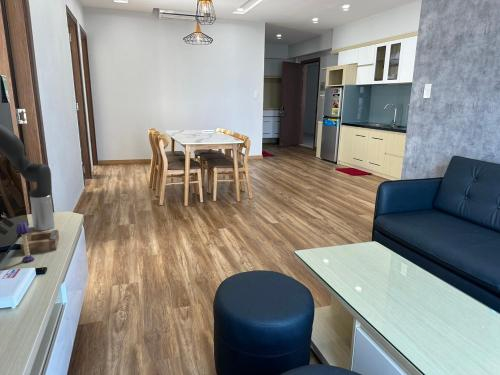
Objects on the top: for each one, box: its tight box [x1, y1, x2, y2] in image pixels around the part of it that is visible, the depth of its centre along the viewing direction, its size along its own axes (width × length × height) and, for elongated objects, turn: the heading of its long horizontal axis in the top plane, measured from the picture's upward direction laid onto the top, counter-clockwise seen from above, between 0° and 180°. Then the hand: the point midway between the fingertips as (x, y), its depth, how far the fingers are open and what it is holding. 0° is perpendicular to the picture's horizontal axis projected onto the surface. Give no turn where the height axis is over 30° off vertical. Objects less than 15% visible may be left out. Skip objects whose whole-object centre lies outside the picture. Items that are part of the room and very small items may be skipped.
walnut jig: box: [20, 229, 60, 255], centre depth 158 cm, size 13×13×5 cm
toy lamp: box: [15, 221, 35, 264], centre depth 142 cm, size 5×5×17 cm
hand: (9, 229), depth 140 cm, fingers open, 8 cm apart
